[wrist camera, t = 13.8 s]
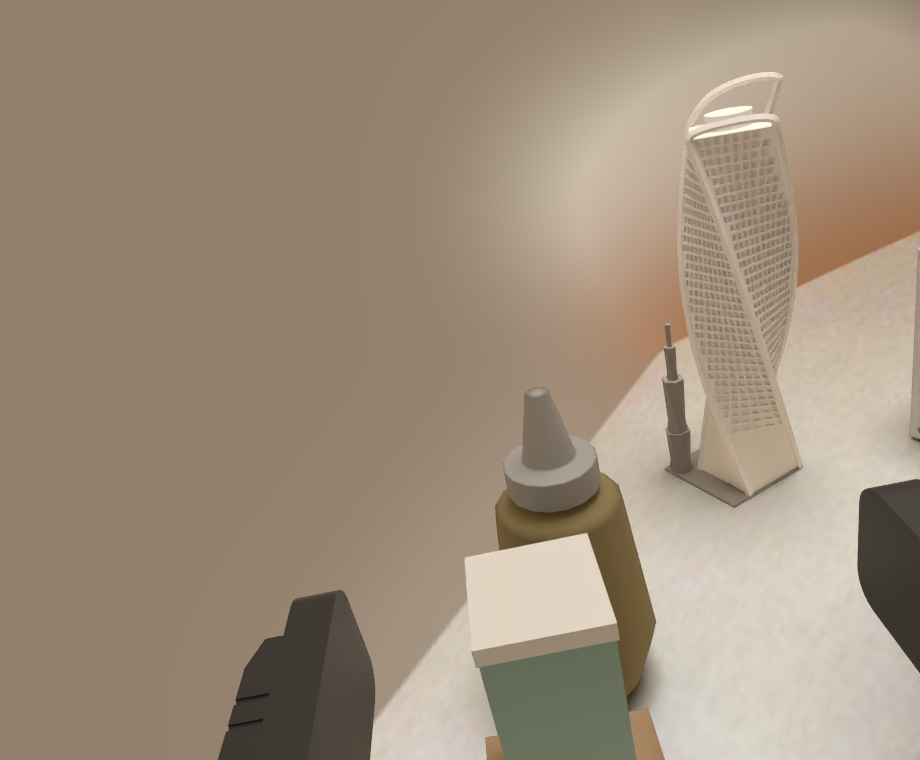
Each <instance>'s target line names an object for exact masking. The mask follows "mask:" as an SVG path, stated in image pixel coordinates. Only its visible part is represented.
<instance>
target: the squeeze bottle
mask: <svg viewBox="0 0 920 760" xmlns="http://www.w3.org/2000/svg"><path fill="white" fill-rule="evenodd" d="M503 466H504V475H505V480H506V484H507V489H506V490H505V491H504V492H503V494H502V495H501V497H500V499H499V500H498V502H497V504H496V506H495V509H496V525H497V534H498V542H499V551H500V550H505V549H510V548H515V547H520V546H525V545H530V544H535V543H540V542H545V541H550V540H555V539H560V538H565V537H569V536H574V535H579V534H584V533H587V534H588V537H589V540H590V543H591V546H592V549H593V552H594V555H595V558H596V561H597V564H598V567H599V570H600V573H601V576H602V579H603V582H604V585H605V588H606V591H607V594H608V597H609V600H610V603H611V606H612V609H613V612H614V615H615V618H616V621H617V625H618V631H619V637H620V640H617V645H618V651H619V657H620V663H621V669H622V675H623V681H624V687H625V693H626V698H627V697H628V695H629V694H630V693H631V692H632V691H633V689H634V688H635V687H636V686H637V685H638V683H639V679H640V676H641V673H642V670H643V667H644V664H645V661H646V657H647V654H648V651H649V648H650V645H651V641H652V637H653V633H654V628H655V624H656V619H655V616H654V612H653V608H652V605H651V601H650V597H649V594H648V590H647V586H646V582H645V579H644V575H643V571H642V568H641V564H640V560H639V557H638V553H637V549H636V545H635V542H634V538H633V534H632V531H631V527H630V523H629V520H628V516H627V512H626V508H625V505H624V501H623V498H622V495H621V492H620V488H619V485H618V484H617V483H615V482H614V481H613V480H612V479H610V478H609V477H608V476H607V475H605V474H603V473H601V472H600V471H599V464H598V458H597V454H596V451H595V447H593V446H592V445H591V444H590V443H588V442H587V441H585V440H584V439H581V438H578V437H574V436H571V435H568V433H567V431H566V428H565V426H564V424H563V422H562V419H561V417H560V415H559V413H558V410H557V408H556V406H555V403H554V401H553V399H552V397H551V394H550V392H549V390H548V389H547V388H544V387H537V388H532V389H530V390H528V391H527V392H526V393H525V394H524V420H523V444H521V445H519V446H518V447H517V448H515V449H514V450H513V451H511V452H510V454H509V455H508V457H507V458H506V460H505V462H504V463H503Z"/></svg>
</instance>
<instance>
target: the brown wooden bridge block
mask: <svg viewBox="0 0 920 760" xmlns="http://www.w3.org/2000/svg"><path fill="white" fill-rule="evenodd" d="M629 717H630V723H631V729H632V735H633V741H634V747H635V753H636V759H637V760H665V759H664V756H663V753H662V750H661V747H660V743H659V740H658V737H657V734H656V731H655V728H654V725H653V722H652V719H651V716H650V713H649V710H648V708H647V709H641V710H636V711H630V712H629ZM485 740H486V753H487V760H505V758H504V755H503V751H502V747H501V744H500V740H499V737H498V735H497V736H492V737H486V738H485Z"/></svg>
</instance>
